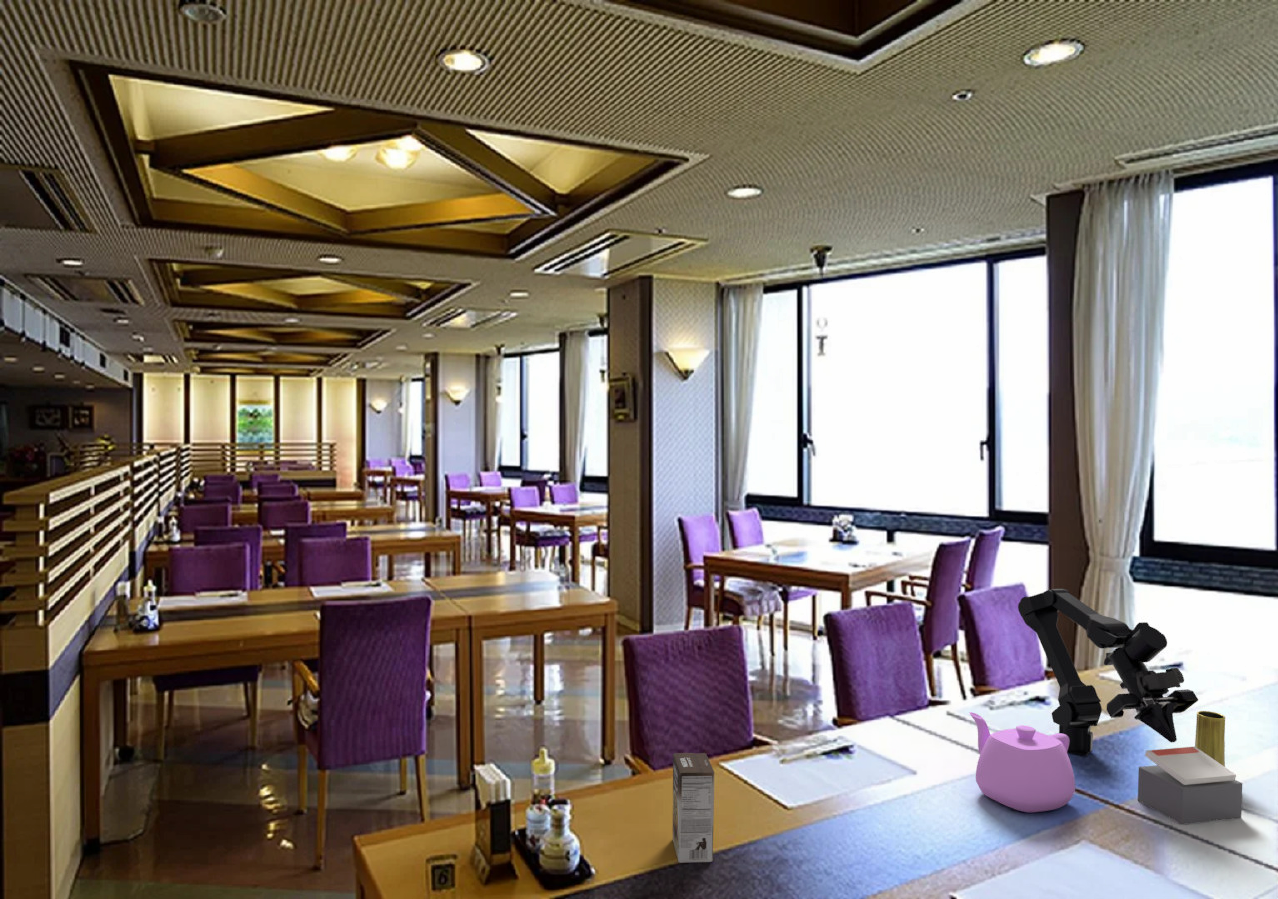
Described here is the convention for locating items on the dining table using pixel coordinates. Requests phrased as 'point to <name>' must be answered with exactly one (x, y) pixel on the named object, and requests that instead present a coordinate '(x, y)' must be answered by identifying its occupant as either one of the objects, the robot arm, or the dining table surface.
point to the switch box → (1189, 797)
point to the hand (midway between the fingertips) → (1174, 741)
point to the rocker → (1190, 765)
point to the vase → (1211, 735)
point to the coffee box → (693, 807)
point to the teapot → (1024, 767)
